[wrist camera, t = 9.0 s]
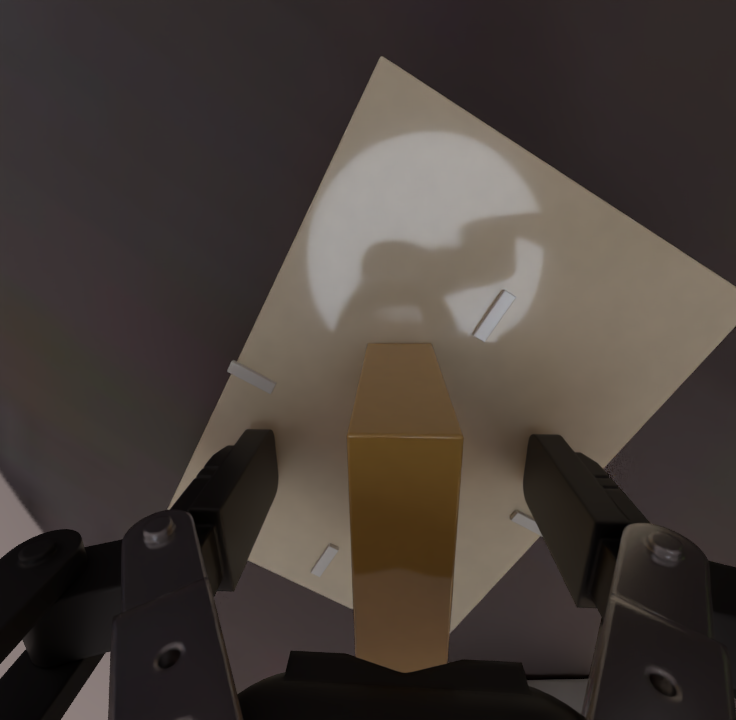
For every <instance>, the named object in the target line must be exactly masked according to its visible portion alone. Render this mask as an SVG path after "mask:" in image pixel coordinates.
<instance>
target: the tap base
mask: <svg viewBox="0 0 736 720" xmlns="http://www.w3.org/2000/svg"><path fill="white" fill-rule="evenodd" d="M735 326H736V286H734V285H733V284H731V283H730V282H728V281H727V280H725V279H723V278H722V277H720V276H719V275H717V274H716V273H714V272H713V271H711V270H710V269H708V268H707V267H705V266H704V265H702V264H700V263H699V262H697V261H696V260H694V259H693V258H691V257H690V256H688V255H687V254H685V253H684V252H682V251H681V250H679V249H677V248H676V247H674V246H673V245H671V244H670V243H668V242H667V241H665V240H664V239H662V238H661V237H659V236H658V235H656V234H654V233H653V232H651V231H650V230H648V229H647V228H645V227H644V226H642V225H641V224H639V223H638V222H636V221H635V220H633V219H631V218H630V217H628V216H627V215H625V214H624V213H622V212H621V211H619V210H618V209H616V208H615V207H613V206H612V205H610V204H608V203H607V202H605V201H604V200H602V199H601V198H599V197H598V196H596V195H595V194H593V193H592V192H590V191H589V190H587V189H585V188H584V187H582V186H581V185H579V184H578V183H576V182H575V181H573V180H572V179H570V178H569V177H567V176H566V175H564V174H562V173H561V172H559V171H558V170H556V169H555V168H553V167H552V166H550V165H549V164H547V163H546V162H544V161H543V160H541V159H539V158H538V157H536V156H535V155H533V154H532V153H530V152H529V151H527V150H526V149H524V148H523V147H521V146H520V145H518V144H516V143H515V142H513V141H512V140H510V139H509V138H507V137H506V136H504V135H503V134H501V133H500V132H498V131H497V130H495V129H493V128H492V127H490V126H489V125H487V124H486V123H484V122H483V121H481V120H480V119H478V118H477V117H475V116H474V115H472V114H470V113H469V112H467V111H466V110H464V109H463V108H461V107H460V106H458V105H457V104H455V103H454V102H452V101H451V100H449V99H447V98H446V97H444V96H443V95H441V94H440V93H438V92H437V91H435V90H434V89H432V88H431V87H429V86H428V85H426V84H424V83H423V82H421V81H420V80H418V79H417V78H415V77H414V76H412V75H411V74H409V73H408V72H406V71H405V70H403V69H401V68H400V67H398V66H397V65H395V64H394V63H392V62H391V61H389V60H388V59H386V58H385V57H383V56H381V57H380V58H379V60H378V62H377V65H376V67H375V69H374V71H373V73H372V75H371V77H370V79H369V82H368V84H367V86H366V88H365V90H364V92H363V94H362V96H361V99H360V101H359V103H358V105H357V107H356V109H355V111H354V113H353V116H352V118H351V120H350V122H349V124H348V126H347V128H346V130H345V133H344V135H343V137H342V139H341V141H340V143H339V145H338V147H337V150H336V152H335V154H334V156H333V158H332V160H331V162H330V164H329V167H328V169H327V171H326V173H325V175H324V177H323V179H322V181H321V184H320V186H319V188H318V190H317V192H316V194H315V196H314V199H313V201H312V203H311V205H310V207H309V209H308V211H307V213H306V216H305V218H304V220H303V222H302V224H301V226H300V228H299V230H298V233H297V235H296V237H295V239H294V241H293V243H292V245H291V247H290V250H289V252H288V254H287V256H286V258H285V260H284V262H283V264H282V267H281V269H280V271H279V273H278V275H277V277H276V279H275V281H274V284H273V286H272V288H271V290H270V292H269V294H268V296H267V298H266V301H265V303H264V305H263V307H262V309H261V311H260V313H259V315H258V318H257V320H256V322H255V324H254V326H253V328H252V330H251V332H250V335H249V337H248V339H247V341H246V343H245V345H244V347H243V349H242V352H241V354H240V356H239V358H238V360H237V361H235V360H233V361H231V363H230V365H229V368H228V370H227V372H229V373H231V375H230V377H229V379H228V381H227V383H226V386H225V388H224V390H223V392H222V394H221V396H220V398H219V401H218V403H217V405H216V407H215V409H214V411H213V413H212V415H211V418H210V420H209V422H208V424H207V426H206V428H205V430H204V432H203V435H202V437H201V439H200V441H199V443H198V445H197V447H196V449H195V452H194V454H193V456H192V458H191V460H190V462H189V464H188V466H187V469H186V471H185V473H184V475H183V477H182V479H181V481H180V483H179V486H178V488H177V490H176V492H175V494H174V496H173V498H172V500H171V503H170V505H169V507H168V509H167V510H170V508H171V507H172V506H173V505H174V503H175V502H176V501H177V500H178V498H179V497H180V496H181V495H182V493H183V492H184V491H185V490H186V488H187V487H188V486H189V484H190V483H191V482H192V481H193V479H194V478H196V476H197V474H198V473H199V472H200V471H201V469H204V466H205V464H206V463H207V462H208V460H209V459H210V458H211V457H212V455H213V454H215V453H217V452H218V451H220V450H221V449H223V448H224V447H226V446H227V445H235V443H236V442H237V441H238V439H239V438H240V436H241V435H242V434H243V432H244V431H245V430H246V429H271V430H272V431H273V433H274V437H275V446H276V455H277V465H278V475H279V479H278V489H277V493H276V496H275V498H274V501H273V503H272V505H271V507H270V510H269V512H268V514H267V517H266V519H265V521H264V523H263V526H262V528H261V530H260V533H259V535H258V537H257V540H256V542H255V544H254V546H253V549H252V551H251V553H250V556H249V558H248V561H250V562H252V563H254V564H257V565H259V566H261V567H263V568H265V569H267V570H269V571H272V572H274V573H276V574H278V575H280V576H282V577H284V578H286V579H289V580H291V581H293V582H295V583H297V584H299V585H301V586H304V587H306V588H308V589H310V590H312V591H314V592H316V593H318V594H321V595H323V596H325V597H327V598H329V599H331V600H333V601H336V602H338V603H340V604H342V605H344V606H346V607H348V608H350V609H353V593H352V568H351V542H350V516H349V491H348V465H347V439H346V435H347V430H348V426H349V422H350V417H351V413H352V408H353V404H354V399H355V395H356V390H357V386H358V381H359V377H360V372H361V368H362V363H363V359H364V355H365V350H366V346H367V344H368V343H431V344H432V345H433V348H434V351H435V354H436V357H437V360H438V363H439V365H440V368H441V371H442V374H443V377H444V380H445V383H446V386H447V389H448V392H449V395H450V398H451V401H452V404H453V407H454V410H455V413H456V415H457V418H458V421H459V424H460V427H461V430H462V433H463V436H464V444H463V458H462V472H461V486H460V500H459V514H458V528H457V541H456V555H455V569H454V583H453V597H452V611H451V624H450V633H451V632H452V631H453V630H454V629H455V628H456V627H457V625H458V624H459V623H460V622H461V621H462V620H463V619H464V618H465V617H466V616H467V615H468V614H469V613H470V611H471V610H472V609H473V608H474V607H475V606H476V605H477V604H478V603H479V602H480V601H481V600H482V599H483V598H484V596H485V595H486V594H487V593H488V592H489V591H490V590H491V589H492V588H493V587H494V586H495V585H496V584H497V582H498V581H499V580H500V579H501V578H502V577H503V576H504V575H505V574H506V573H507V572H508V571H509V570H510V568H511V567H512V566H513V565H514V564H515V563H516V562H517V561H518V560H519V559H520V558H521V557H522V556H523V554H524V553H525V552H526V551H527V550H528V549H529V548H530V547H531V546H532V545H533V544H534V543H535V542H536V540H537V539H538V538H539V537H540V536H542V534H541V532H540V530H539V528H538V526H537V524H536V522H535V520H534V518H533V516H532V514H531V512H530V510H529V508H528V506H527V503H526V501H525V497H524V492H523V476H524V469H525V462H526V454H527V447H528V440H529V437H530V436H531V435H532V434H558V435H561V436H562V437H563V438H564V440H565V441H566V442H567V443H568V445H569V446H570V447H571V448H572V450H573V451H574V452H581V453H583V454H584V455H586V456H587V457H589V458H591V459H592V460H594V461H595V462H597V463H598V464H599V465H600V466H601V467H602V468H604V467H605V466H606V465H607V464H608V463H609V462H610V461H611V460H612V459H613V458H614V457H615V455H616V454H617V453H618V452H619V451H620V450H621V449H622V448H623V447H624V446H625V445H626V444H627V443H628V441H629V440H630V439H631V438H632V437H633V436H634V435H635V434H636V433H637V432H638V431H639V430H640V429H641V427H642V426H643V425H644V424H645V423H646V422H647V421H648V420H649V419H650V418H651V417H652V416H653V415H654V413H655V412H656V411H657V410H658V409H659V408H660V407H661V406H662V405H663V404H664V403H665V402H666V401H667V400H668V398H669V397H670V396H671V395H672V394H673V393H674V392H675V391H676V390H677V389H678V388H679V387H680V386H681V384H682V383H683V382H684V381H685V380H686V379H687V378H688V377H689V376H690V375H691V374H692V373H693V372H694V370H695V369H696V368H697V367H698V366H699V365H700V364H701V363H702V362H703V361H704V360H705V359H706V358H707V356H708V355H709V354H710V353H711V352H712V351H713V350H714V349H715V348H716V347H717V346H718V345H719V344H720V342H721V341H722V340H723V339H724V338H725V337H726V336H727V335H728V334H729V333H730V332H731V331H732V330H733V328H734V327H735ZM542 537H543V536H542Z"/></svg>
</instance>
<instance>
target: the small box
mask: <svg viewBox="0 0 736 720" xmlns="http://www.w3.org/2000/svg"><path fill="white" fill-rule="evenodd" d="M527 682H528V686H531V687H534V688H537V689H539V690H541V691H543V692H545V693H548V694H550V695H552V696H554V697H555V698H557V699H559V700H560V701H562V702H564V703H566V704H567V705H569V706H570V707H572V708H573V709H574V710H576V711H577V712H579V713H580V714H581V711H582V707H583V702H584V698H585V693H586V688H587V683H588V679H555V680H527Z"/></svg>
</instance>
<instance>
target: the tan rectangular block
mask: <svg viewBox="0 0 736 720" xmlns="http://www.w3.org/2000/svg"><path fill="white" fill-rule="evenodd" d="M346 439H347V465H348V491H349V516H350V542H351V568H352V593H353V619H354V645H355V657H357V658H360V659H363V660H366V661H369V662H372V663H375V664H378V665H381V666H384V667H387V668H389V669H392V670H395V671H398V672H402V673H408V672H414V671H418V670H422V669H426V668H430V667H434V666H439V665H443V664H447V663H448V652H449V638H450V624H451V611H452V597H453V583H454V569H455V555H456V541H457V528H458V514H459V500H460V486H461V472H462V458H463V444H464V436H463V433H462V430H461V427H460V424H459V421H458V418H457V415H456V413H455V410H454V407H453V404H452V401H451V398H450V395H449V392H448V389H447V386H446V383H445V380H444V377H443V374H442V371H441V368H440V365H439V363H438V360H437V357H436V354H435V351H434V348H433V345H432V344H431V343H368V344H367V346H366V350H365V355H364V359H363V363H362V368H361V372H360V377H359V381H358V386H357V390H356V395H355V399H354V404H353V408H352V413H351V417H350V422H349V426H348V430H347V435H346Z"/></svg>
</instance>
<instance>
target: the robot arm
mask: <svg viewBox="0 0 736 720" xmlns="http://www.w3.org/2000/svg"><path fill="white" fill-rule="evenodd" d="M278 479H279V475H278V465H277V455H276V446H275V437H274V433H273V431H272V430H271V429H246V430H245V431H244V432H243V434H242V435H241V436H240V438H239V439H238V441H237V442H236V443H235V445H227V446H226V447H224V448H223V449H221V450H220V451H218V452H217V453H215V454H213V455H212V457H211V458H210V459H209V460H208V462H207V463H206V464H205V466H204V469H201V471H200V472H199V473H198V474H197V476H196V478H194V479H193V481H192V482H191V483H190V484H189V486H188V487H187V488H186V490H185V491H184V492H183V493H182V495H181V496H180V497H179V498H178V500H177V501H176V502H175V503H174V505H173V506H172V507H171V508H170V510H165V511H160V512H157V513H154V514H152V515H149V516H147V517H145V518H143V519H142V520H140V521H139V522H137V523H136V524H134V525H133V526H132V527H131V528H130V529H129V530H128V531H127V533H126V534H125V536H124V537H123V539H122V540H118V541H113V542H108V543H103V544H98V545H93V546H89V547H84V544H83V541H82V538H81V535H80V534H79V533H78V532H76V531H74V530H69V529H61V530H54V531H50V532H46V533H43V534H40V535H38V536H35V537H33V538H31V539H29V540H27V541H25V542H23V543H21V544H19V545H18V546H16V547H15V548H14V549H12V550H11V551H9V552H8V553H7V554H6V555H4V556H3V557H2V558H1V559H0V664H1V663H2V661H3V660H4V659H5V658H6V657H7V656H8V655H9V654H10V653H11V651H12V650H13V649H14V648H15V647H16V646H17V645H18V643H20V641H21V640H23V642H24V645H25V647H26V650H25V651H24V652H23V653H22V654H21V656H20V657H19V658H18V659H17V660H16V661H15V662H14V664H13V665H12V666H11V667H10V668H9V669H8V671H7V672H6V673H5V674H4V675H3V677H1V679H0V720H61V718H62V717H63V715H64V714H65V712H66V711H67V709H68V708H69V706H70V705H71V703H72V702H73V700H74V699H75V697H76V696H77V694H78V693H79V691H80V690H81V688H82V687H83V685H84V684H85V682H86V681H87V679H88V678H89V676H90V675H91V673H92V672H93V671H94V669H95V667H96V666H97V664H98V663H99V662H100V660H101V659H102V657H103V656H104V654H105V653H106V652H110V651H111V654H110V683H109V711H108V720H736V710H735V700H734V697H735V699H736V567H732V566H728V565H724V564H720V563H716V562H712V561H708V559H707V557H706V556H705V554H704V553H703V552H702V551H701V549H700V548H699V547H698V546H696V545H695V544H694V543H693V542H691V541H690V540H689V539H687V538H686V537H684V536H682V535H680V534H679V533H677V532H675V531H672V530H670V529H668V528H665V527H662V526H659V525H654V524H651V523H650V522H649V521H648V520H647V519H646V518H645V516H644V515H643V514H642V513H641V512H640V511H639V510H638V508H637V507H636V506H635V505H634V504H633V503H632V502H631V500H630V499H629V498H628V497H627V496H626V495H625V494H624V492H623V491H622V490H621V489H618V486H617V484H616V483H615V482H614V481H613V480H612V479H611V478H609V475H608V474H607V473H606V472H605V471H604V470H603V468H602V467H601V466H600V465H599V464H598V463H597V462H595V461H594V460H592V459H591V458H589V457H587V456H586V455H584V454H583V453H581V452H574V451H573V450H572V448H571V447H570V446H569V445H568V443H567V442H566V441H565V440H564V438H563V437H562V436H561V435H558V434H532V435H531V436H530V437H529V440H528V447H527V454H526V462H525V469H524V476H523V492H524V497H525V501H526V503H527V506H528V508H529V510H530V512H531V514H532V516H533V518H534V520H535V522H536V524H537V526H538V528H539V530H540V532H541V534H542V536H543V538H544V540H545V543H546V545H547V547H548V549H549V551H550V553H551V555H552V557H553V559H554V561H555V563H556V565H557V567H558V569H559V571H560V573H561V575H562V577H563V580H564V582H565V584H566V586H567V588H568V590H569V592H570V594H571V596H572V598H573V600H574V602H575V604H576V606H577V607H579V608H597V609H598V611H599V612H600V614H601V616H602V618H601V623H600V627H599V631H598V636H597V641H596V645H595V650H594V655H593V660H592V664H591V669H590V674H589V679H588V683H587V688H586V693H585V698H584V702H583V707H582V711H581V714H580V713H579V712H577V711H576V710H574V709H573V708H572V707H570V706H569V705H567V704H566V703H564V702H562V701H560V700H559V699H557V698H555V697H554V696H552V695H550V694H548V693H545V692H543V691H541V690H539V689H537V688H534V687H531V686H528V682H527V679H526V676H525V672H524V669H523V666H522V663H519V662H500V661H480V660H460V661H455V662H451V663H447V664H443V665H439V666H434V667H430V668H426V669H422V670H418V671H414V672H408V673H402V672H398V671H395V670H392V669H389V668H387V667H384V666H381V665H378V664H375V663H372V662H369V661H366V660H363V659H360V658H357V657H354V656H351V655H349V654H344V653H324V652H305V651H291V652H290V656H289V660H288V664H287V668H286V672H284V673H280V674H276V675H274V676H271V677H268V678H266V679H263V680H261V681H259V682H257V683H255V684H253V685H252V686H250V687H248V688H247V689H245V690H244V691H242V692H240V693H239V694H237V692H236V688H235V684H234V679H233V675H232V671H231V667H230V663H229V659H228V655H227V650H226V646H225V642H224V638H223V634H222V630H221V626H220V622H219V617H218V613H217V609H216V605H215V601H214V596H215V594H216V592H217V591H233V592H234V590H235V588H236V585H237V583H238V581H239V578H240V576H241V574H242V572H243V569H244V567H245V565H246V562H247V560H248V558H249V556H250V553H251V551H252V549H253V546H254V544H255V542H256V540H257V537H258V535H259V533H260V530H261V528H262V526H263V523H264V521H265V519H266V517H267V514H268V512H269V510H270V507H271V505H272V503H273V501H274V498H275V496H276V493H277V489H278Z"/></svg>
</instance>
